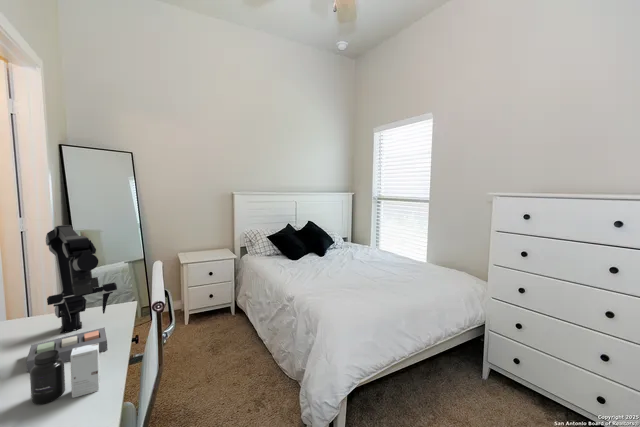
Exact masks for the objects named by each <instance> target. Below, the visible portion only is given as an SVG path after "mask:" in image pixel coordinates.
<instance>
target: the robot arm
mask: <svg viewBox="0 0 640 427" xmlns="http://www.w3.org/2000/svg"><path fill="white" fill-rule="evenodd" d="M45 245H46V246H47V247H48V250H49V252H50V253H52V254H53V255H54V256H55V259H56V265H57V271H58V272H57V273H58V277H59V284H60V290H61V292H60V293H57V294H54V295H53V294H52V295H49V296H48V297H47V298H46V302H47V303H46V304H47V306H50V305H53V308H54V312H55V313H54V314H55V316H56V317H57V319H61V321H60V322H61V326H60V331H59V333H60V334H62V333H68V332H72V331H75V330H76V331H77V330H80V329H81V330H82V328H83V321H81V313H82V312H84V313H85V311H86V308H87V306H86V305H87V299H86V298H85V296H89V295H93V294H97V293H102V308H101V309H102V314H105V313H106V309H107V303H108V299H109V296H110V294H113V293H114V291H116V290H117V291H118V286H117V283H116V282H109V283H104V284H102V286H100V284H99V283H100V282H99V277H97V276H96V277H93V273H92V270H95V269H96V268H97V267H98V266H99V265H98V264H99V259H98V257H97V256H96V252H97V249H96V247H95V244H94V243H93V242H92V240H90V239H89V237H87V236H85V235H79V234H78V233H77V232H76V231H75V229H74V227H73V225H71V224H66V225H65V224H64V225H63V224H62V225H56V226H54V229H51V230H50V231H48V232H47V233H46V235H45Z"/></svg>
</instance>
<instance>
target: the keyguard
mask: <svg viewBox="0 0 640 427" xmlns="http://www.w3.org/2000/svg"><path fill="white" fill-rule="evenodd" d="M94 331H99V338H97V339H93V340H90V341H86V342H85V336H84V334H86V333H90V332H94ZM74 336H77V341H78V344H74V345H70V346H66V347H62V339H65V338H69V337H74ZM53 341H54V345H55V349H54V350H57V351H58V352H59V359H61V360H62V361H63V362H64V363H65V362H68V361H70V362H71V360H70V356H71V352H72V349H73V348H78V347H82V346H86V345H92V344H97V343H99V353H101V352H105V351H108V349H109V348H108V339H107V333H106V328H105V327H100V328H96V329H92V330H88V331H84V332H80V333H75V334H72V335H71V334H70V335H65V336H63V337H58V338H53V339H49V340H45V341H42V342H37V343H33V344H31V345H30V347H29V352H28V355H27V358H26V361H25V362H26V372H27V373H30V371H31V369H32V368H33V367H34V366H35V365H34V362H35V360H34V358H35V356H37V355H38V354H40V353H38V354H37V347H38V345H40V344H44V343H49V342H53Z"/></svg>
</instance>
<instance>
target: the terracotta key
mask: <svg viewBox="0 0 640 427" xmlns="http://www.w3.org/2000/svg"><path fill="white" fill-rule="evenodd" d="M84 336H85V342H86V341H90V340H93V339H97V338H99V331H94V332H90V333H86V334H84Z"/></svg>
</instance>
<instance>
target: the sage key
mask: <svg viewBox="0 0 640 427" xmlns="http://www.w3.org/2000/svg"><path fill="white" fill-rule="evenodd" d="M54 349H55V345H54V341H53V342H49V343H44V344H40V345H38V347H37V354H38V353H42V352H45V351H49V350H54Z"/></svg>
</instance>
